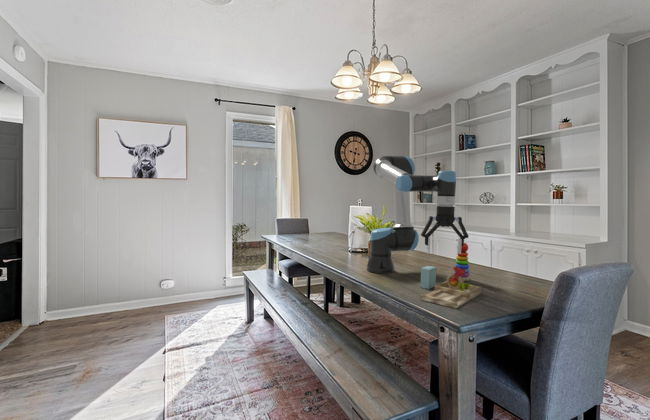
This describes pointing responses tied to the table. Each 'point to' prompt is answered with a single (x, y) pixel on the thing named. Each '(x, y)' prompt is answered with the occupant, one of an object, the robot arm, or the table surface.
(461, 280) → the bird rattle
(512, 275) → the table surface
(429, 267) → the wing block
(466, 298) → the jig
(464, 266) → the stacking toy
